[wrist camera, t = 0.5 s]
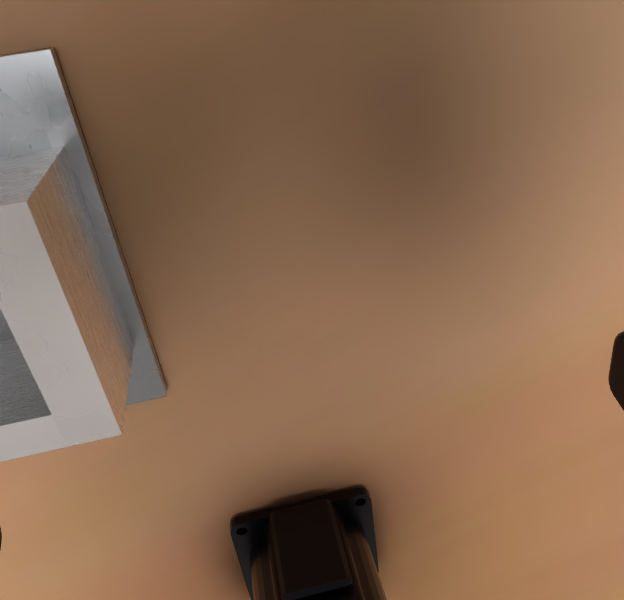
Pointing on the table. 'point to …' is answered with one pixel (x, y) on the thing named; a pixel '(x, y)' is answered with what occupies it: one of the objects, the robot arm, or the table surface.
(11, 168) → the block
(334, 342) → the table surface
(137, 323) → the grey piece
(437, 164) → the table surface
